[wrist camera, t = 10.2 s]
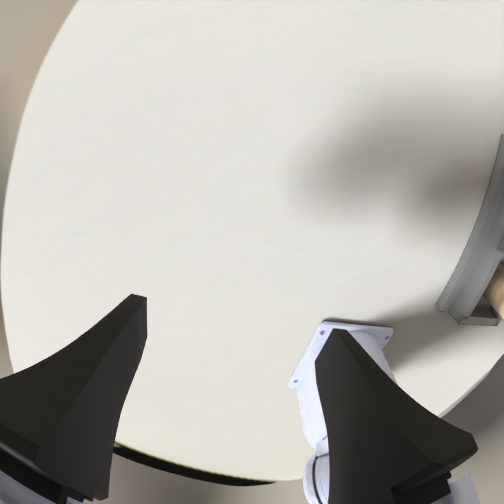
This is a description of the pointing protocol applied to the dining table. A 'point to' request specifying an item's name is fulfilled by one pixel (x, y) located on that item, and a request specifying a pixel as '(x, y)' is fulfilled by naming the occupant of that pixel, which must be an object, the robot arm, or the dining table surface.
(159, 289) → the dining table surface
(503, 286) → the oak peg
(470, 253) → the rack
